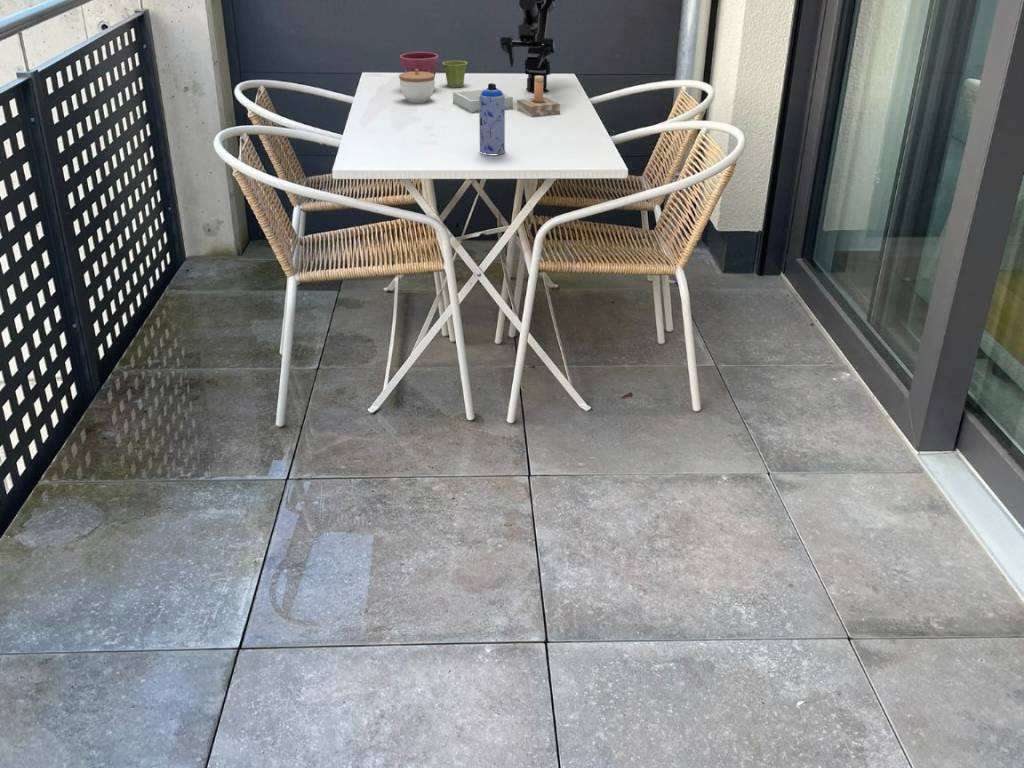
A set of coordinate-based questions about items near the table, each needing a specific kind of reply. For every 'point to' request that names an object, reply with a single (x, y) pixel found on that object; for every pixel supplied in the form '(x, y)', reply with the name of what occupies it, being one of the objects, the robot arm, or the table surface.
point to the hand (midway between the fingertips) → (524, 67)
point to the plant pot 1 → (419, 62)
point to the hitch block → (538, 107)
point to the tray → (475, 100)
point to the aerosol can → (492, 120)
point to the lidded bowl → (417, 86)
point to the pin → (538, 89)
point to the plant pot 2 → (455, 73)
